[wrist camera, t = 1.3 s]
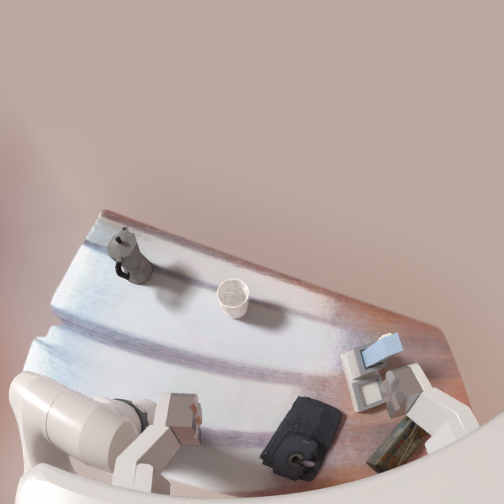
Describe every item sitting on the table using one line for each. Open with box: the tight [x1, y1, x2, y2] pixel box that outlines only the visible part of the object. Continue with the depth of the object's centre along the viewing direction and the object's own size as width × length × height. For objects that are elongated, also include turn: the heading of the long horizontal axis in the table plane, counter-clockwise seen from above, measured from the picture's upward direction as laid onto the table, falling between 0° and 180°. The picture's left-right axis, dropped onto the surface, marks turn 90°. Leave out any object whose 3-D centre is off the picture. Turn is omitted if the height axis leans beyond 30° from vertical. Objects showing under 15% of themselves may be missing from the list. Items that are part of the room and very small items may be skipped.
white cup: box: [217, 279, 249, 319], centre depth 72 cm, size 8×8×10 cm
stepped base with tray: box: [340, 341, 388, 412], centre depth 60 cm, size 16×8×10 cm, turn 11°
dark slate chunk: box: [260, 396, 342, 481], centre depth 55 cm, size 15×22×5 cm
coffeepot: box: [107, 227, 153, 284], centre depth 75 cm, size 15×9×18 cm, turn 6°
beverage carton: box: [366, 415, 428, 474], centre depth 50 cm, size 8×19×7 cm, turn 131°
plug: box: [361, 333, 403, 368], centre depth 54 cm, size 5×4×13 cm
